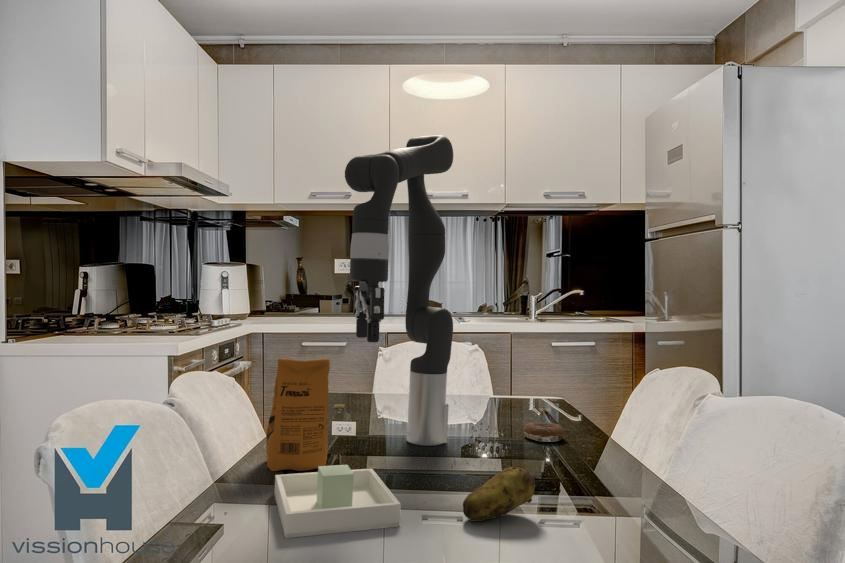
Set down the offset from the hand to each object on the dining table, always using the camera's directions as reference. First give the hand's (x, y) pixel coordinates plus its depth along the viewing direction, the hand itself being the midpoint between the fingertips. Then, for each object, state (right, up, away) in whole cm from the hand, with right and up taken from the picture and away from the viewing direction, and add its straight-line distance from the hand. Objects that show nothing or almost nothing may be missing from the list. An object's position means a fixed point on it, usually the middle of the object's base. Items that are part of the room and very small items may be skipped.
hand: (366, 339), depth 109 cm
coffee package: (-15, -27, +6) cm, 31 cm away
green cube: (-4, -26, -17) cm, 31 cm away
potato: (+23, -28, -17) cm, 40 cm away
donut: (+43, -30, +36) cm, 64 cm away
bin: (-4, -27, -17) cm, 32 cm away
